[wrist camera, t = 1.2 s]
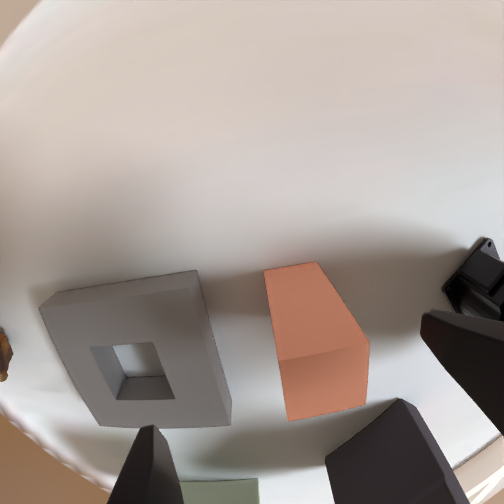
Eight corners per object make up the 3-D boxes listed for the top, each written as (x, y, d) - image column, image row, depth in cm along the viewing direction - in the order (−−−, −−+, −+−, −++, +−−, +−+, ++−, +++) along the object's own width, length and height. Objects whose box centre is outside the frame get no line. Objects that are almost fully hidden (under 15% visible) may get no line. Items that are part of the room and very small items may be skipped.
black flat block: (344, 464, 28) (373, 569, 13) (319, 456, 27) (344, 573, 13) (418, 406, 25) (478, 512, 11) (397, 394, 25) (461, 515, 10)
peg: (316, 261, 20) (369, 342, 11) (320, 308, 21) (365, 404, 12) (263, 270, 21) (278, 361, 11) (271, 317, 22) (287, 421, 12)
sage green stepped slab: (242, 434, 25) (243, 521, 16) (258, 481, 28) (262, 550, 19) (129, 437, 26) (105, 510, 16) (162, 483, 28) (151, 545, 19)
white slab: (513, 422, 31) (529, 443, 25) (503, 466, 37) (513, 482, 31) (368, 512, 35) (376, 539, 29) (395, 531, 41) (401, 549, 35)
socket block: (196, 270, 20) (189, 287, 18) (231, 400, 24) (230, 425, 21) (57, 292, 21) (38, 308, 18) (109, 404, 24) (99, 425, 21)
